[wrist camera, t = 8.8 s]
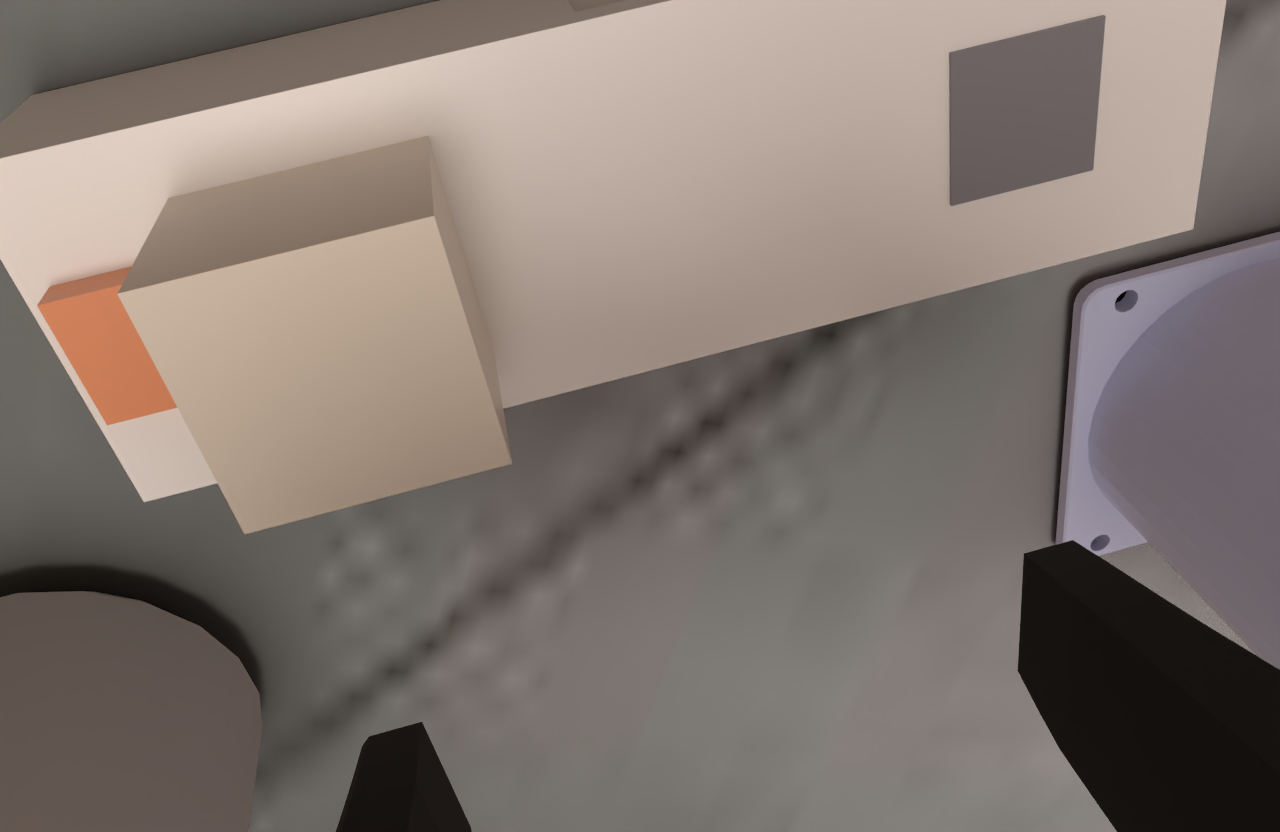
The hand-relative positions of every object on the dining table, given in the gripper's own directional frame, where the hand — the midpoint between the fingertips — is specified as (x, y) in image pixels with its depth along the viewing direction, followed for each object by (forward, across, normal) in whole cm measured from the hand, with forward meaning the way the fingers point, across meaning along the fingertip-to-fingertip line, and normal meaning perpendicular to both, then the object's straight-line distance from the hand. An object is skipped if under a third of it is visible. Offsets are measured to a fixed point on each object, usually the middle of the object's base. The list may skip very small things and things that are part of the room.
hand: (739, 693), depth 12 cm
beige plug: (+6, +4, -4) cm, 8 cm away
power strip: (+10, -1, -4) cm, 11 cm away
